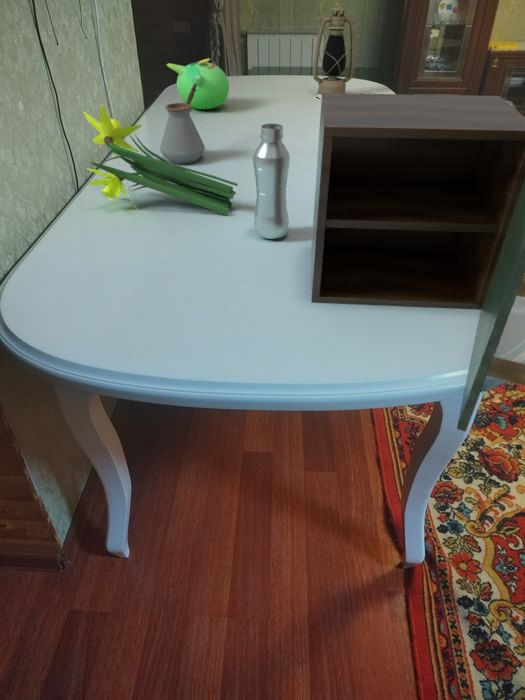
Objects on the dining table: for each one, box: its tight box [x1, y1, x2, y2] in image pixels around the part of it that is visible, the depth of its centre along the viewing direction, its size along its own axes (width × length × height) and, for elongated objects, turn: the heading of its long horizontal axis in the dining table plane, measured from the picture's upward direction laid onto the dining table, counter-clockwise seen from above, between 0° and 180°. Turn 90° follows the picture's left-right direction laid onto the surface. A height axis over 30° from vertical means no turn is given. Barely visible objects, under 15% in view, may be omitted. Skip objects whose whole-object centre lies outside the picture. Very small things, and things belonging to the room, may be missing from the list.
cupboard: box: [310, 92, 525, 311], centre depth 78 cm, size 18×26×26 cm
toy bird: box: [166, 58, 230, 111], centre depth 167 cm, size 18×17×15 cm
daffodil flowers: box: [82, 103, 239, 216], centre depth 105 cm, size 17×15×35 cm
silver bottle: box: [252, 123, 291, 240], centre depth 92 cm, size 6×7×20 cm
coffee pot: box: [159, 83, 206, 165], centre depth 131 cm, size 21×12×15 cm, turn 169°
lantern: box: [312, 0, 359, 95], centre depth 176 cm, size 14×12×30 cm
